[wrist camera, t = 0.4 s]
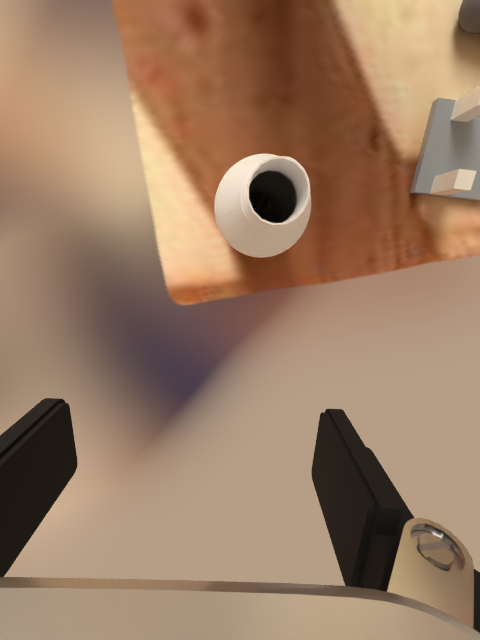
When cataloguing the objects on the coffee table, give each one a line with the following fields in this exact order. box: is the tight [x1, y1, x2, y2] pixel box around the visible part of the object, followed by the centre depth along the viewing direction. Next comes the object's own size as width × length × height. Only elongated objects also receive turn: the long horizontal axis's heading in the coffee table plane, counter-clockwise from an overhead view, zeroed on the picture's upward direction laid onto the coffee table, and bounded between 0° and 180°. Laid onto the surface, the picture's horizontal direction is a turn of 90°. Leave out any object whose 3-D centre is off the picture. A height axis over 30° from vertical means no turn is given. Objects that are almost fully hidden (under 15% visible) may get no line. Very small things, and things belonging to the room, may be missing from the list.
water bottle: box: [214, 154, 311, 258], centre depth 25 cm, size 7×7×25 cm
